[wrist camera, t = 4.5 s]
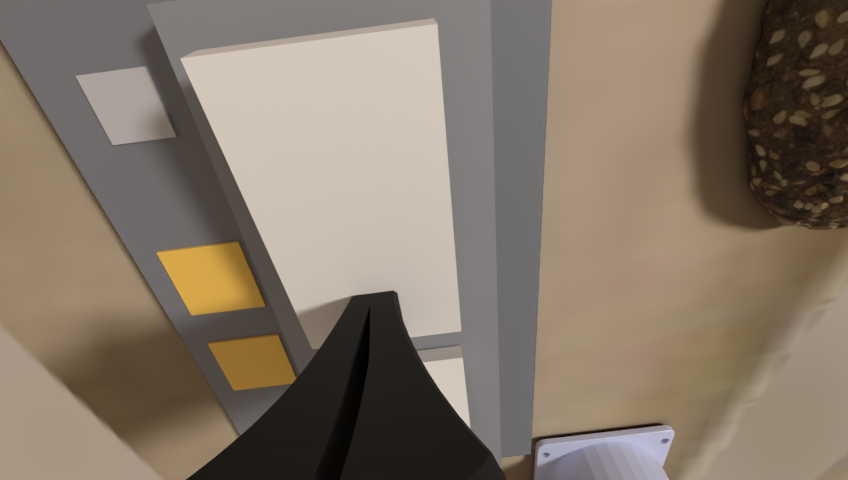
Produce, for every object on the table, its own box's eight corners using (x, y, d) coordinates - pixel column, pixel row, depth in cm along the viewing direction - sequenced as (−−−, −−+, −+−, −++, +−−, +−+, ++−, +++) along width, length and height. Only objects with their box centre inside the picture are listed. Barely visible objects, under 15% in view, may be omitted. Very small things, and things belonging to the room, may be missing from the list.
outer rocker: (456, 302, 14) (461, 331, 13) (318, 319, 14) (312, 349, 13) (432, 15, 8) (437, 23, 7) (206, 45, 8) (180, 58, 7)
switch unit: (526, 437, 23) (539, 481, 20) (274, 467, 23) (261, 514, 21) (543, -87, 10) (580, -113, 8) (3, -12, 11) (-98, -18, 8)
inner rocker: (477, 504, 18) (481, 532, 17) (372, 516, 18) (369, 545, 17) (458, 338, 15) (462, 357, 14) (335, 353, 15) (328, 373, 14)
